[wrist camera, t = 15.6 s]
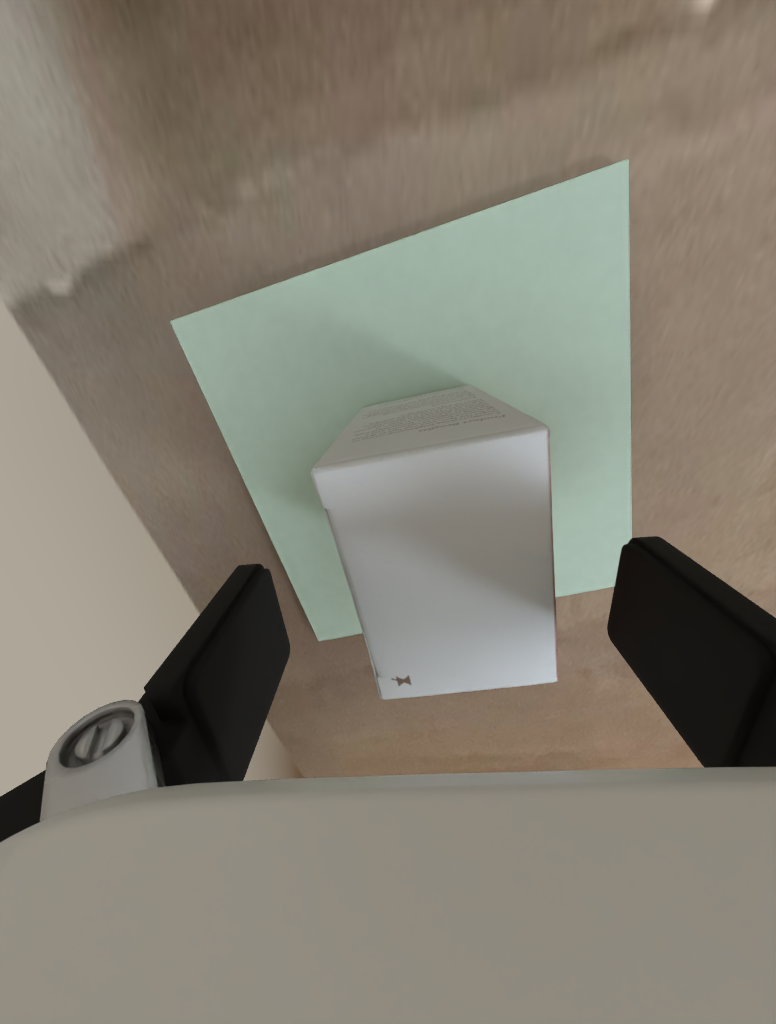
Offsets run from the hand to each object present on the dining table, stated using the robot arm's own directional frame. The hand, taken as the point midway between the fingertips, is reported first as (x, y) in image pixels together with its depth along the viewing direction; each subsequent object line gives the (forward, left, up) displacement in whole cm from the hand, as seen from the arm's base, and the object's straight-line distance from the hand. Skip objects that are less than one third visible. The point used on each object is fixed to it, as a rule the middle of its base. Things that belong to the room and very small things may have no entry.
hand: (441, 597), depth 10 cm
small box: (0, 0, -11) cm, 11 cm away
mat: (0, 0, -11) cm, 11 cm away
